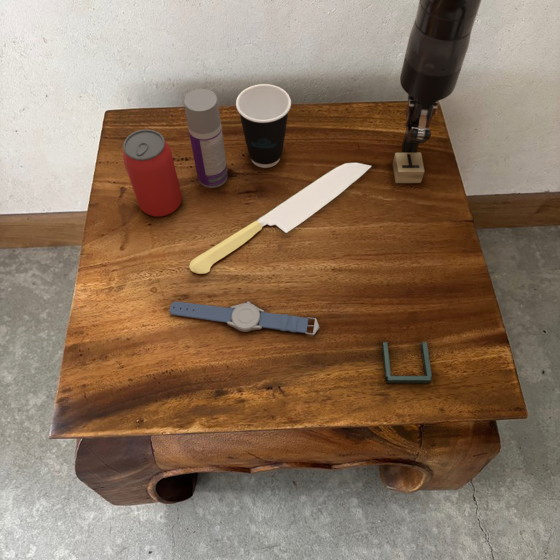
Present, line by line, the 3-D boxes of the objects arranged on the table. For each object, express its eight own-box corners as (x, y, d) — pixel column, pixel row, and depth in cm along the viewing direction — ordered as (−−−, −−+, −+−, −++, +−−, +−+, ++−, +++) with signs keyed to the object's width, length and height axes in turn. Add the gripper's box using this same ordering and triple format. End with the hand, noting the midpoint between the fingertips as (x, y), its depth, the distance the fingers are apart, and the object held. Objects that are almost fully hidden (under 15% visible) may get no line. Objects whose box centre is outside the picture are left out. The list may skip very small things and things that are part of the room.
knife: (380, 171, 86) (360, 150, 87) (203, 284, 74) (183, 258, 76) (378, 176, 87) (358, 156, 88) (203, 288, 76) (183, 263, 77)
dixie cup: (272, 132, 91) (271, 76, 81) (300, 161, 87) (302, 106, 78) (231, 152, 88) (225, 97, 79) (258, 182, 85) (255, 129, 76)
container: (194, 170, 86) (178, 92, 74) (222, 162, 87) (212, 84, 75) (202, 191, 84) (188, 115, 71) (231, 183, 85) (222, 106, 72)
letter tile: (392, 164, 87) (395, 152, 85) (417, 164, 87) (421, 151, 85) (395, 183, 85) (398, 171, 83) (421, 183, 85) (424, 171, 83)
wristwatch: (317, 342, 71) (318, 339, 70) (166, 322, 72) (165, 318, 71) (321, 313, 73) (321, 310, 72) (174, 294, 74) (173, 290, 74)
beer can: (132, 214, 82) (110, 157, 72) (148, 181, 85) (129, 122, 75) (174, 222, 81) (158, 165, 71) (188, 189, 84) (175, 130, 74)
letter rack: (381, 345, 71) (382, 341, 70) (425, 345, 70) (426, 341, 70) (385, 383, 68) (386, 380, 67) (430, 383, 68) (432, 380, 67)
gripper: (466, 91, 68) (433, 184, 83) (461, 26, 75) (432, 122, 90) (405, 86, 68) (383, 179, 83) (406, 21, 75) (385, 118, 90)
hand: (408, 150), depth 86 cm, fingers closed
